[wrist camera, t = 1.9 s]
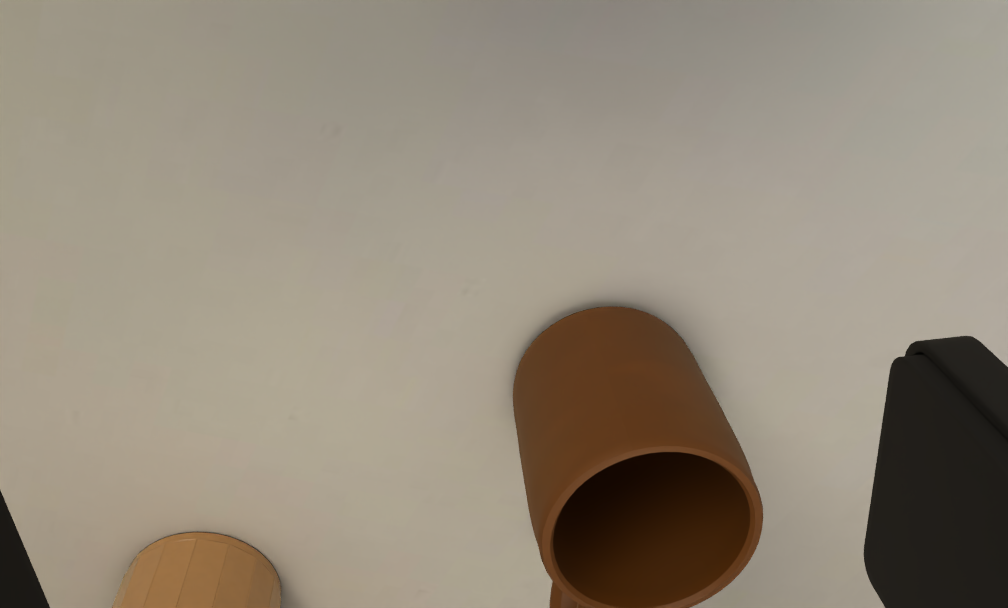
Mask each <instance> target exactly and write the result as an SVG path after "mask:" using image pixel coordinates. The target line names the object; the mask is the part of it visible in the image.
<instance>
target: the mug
mask: <svg viewBox="0 0 1008 608" xmlns="http://www.w3.org/2000/svg"><path fill="white" fill-rule="evenodd" d="M513 406H514V416H515V422H516V428H517V435H518V443H519V451H520V458H521V464H522V470H523V476H524V483H525V489H526V495H527V501H528V507H529V513H530V517H531V522H532V526H533V530H534V534H535V537H536V540H537V543H538V546H539V551H540V555H541V559H542V562H543V564H544V566H545V569H546V571H547V573H548V574H549V576H550V578H551V579H552V581H553V583H552V588H551V597H550V608H689V607H692V606H694V605H697V604H699V603H701V602H702V601H704V600H706V599H708V598H710V597H712V596H713V595H715V594H716V593H718V592H719V591H721V590H722V589H723V588H724V587H726V586H727V585H728V584H729V583H731V582H732V581H733V580H734V579H735V578H736V577H737V576H738V575H739V574H740V572H741V571H742V570H743V569H744V567H745V566H746V565H747V564H748V562H749V560H750V559H751V557H752V555H753V554H754V552H755V549H756V547H757V545H758V542H759V538H760V535H761V531H762V523H763V506H762V502H761V498H760V494H759V491H758V488H757V486H756V484H755V482H754V479H753V476H752V473H751V470H750V467H749V464H748V462H747V460H746V457H745V455H744V453H743V451H742V448H741V446H740V444H739V442H738V440H737V438H736V436H735V434H734V432H733V430H732V428H731V426H730V425H729V423H728V421H727V419H726V417H725V415H724V413H723V411H722V409H721V407H720V405H719V403H718V401H717V399H716V397H715V395H714V394H713V392H712V390H711V388H710V386H709V385H708V383H707V381H706V379H705V377H704V375H703V374H702V372H701V370H700V368H699V366H698V364H697V362H696V360H695V358H694V356H693V355H692V353H691V351H690V350H689V348H688V347H687V345H686V344H685V342H684V341H683V339H682V338H681V337H680V336H679V335H678V334H677V333H676V332H675V331H674V330H673V329H672V328H671V327H670V326H668V325H667V324H666V323H665V322H663V321H662V320H660V319H658V318H657V317H655V316H653V315H650V314H648V313H646V312H643V311H640V310H636V309H632V308H625V307H598V308H592V309H587V310H583V311H580V312H577V313H574V314H572V315H570V316H567V317H565V318H563V319H561V320H560V321H558V322H556V323H555V324H553V325H551V326H550V327H549V328H548V329H546V330H545V331H544V332H542V333H541V334H540V335H539V336H538V337H537V338H536V339H535V340H534V341H533V343H532V344H531V345H530V347H529V348H528V349H527V351H526V352H525V354H524V356H523V358H522V359H521V362H520V364H519V366H518V369H517V373H516V377H515V381H514V388H513Z"/></svg>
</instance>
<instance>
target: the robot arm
mask: <svg viewBox="0 0 1008 608" xmlns="http://www.w3.org/2000/svg"><path fill="white" fill-rule="evenodd" d="M864 562H865V567H866V571H867V574H868V577H869V580H870V582H871V584H872V586H873V588H874V589H875V591H876V593H877V594H878V596H879V598H880V599H881V601H882V603H883V604H884V606H885V608H1008V367H1007V366H1006V365H1005V364H1004V363H1002V362H1001V361H1000V360H999V359H998V358H997V357H996V356H995V355H994V354H993V353H992V352H991V351H989V350H988V349H987V348H986V347H985V346H984V345H983V344H982V343H981V342H980V341H978V340H977V339H975V338H974V337H971V336H960V337H951V338H942V339H933V340H924V341H916V342H914V343H912V344H911V345H910V346H909V348H908V349H907V351H906V354H905V356H904V357H898V358H896V359H895V360H894V361H893V363H892V365H891V369H890V374H889V381H888V388H887V395H886V402H885V408H884V415H883V422H882V429H881V436H880V442H879V449H878V456H877V463H876V470H875V477H874V483H873V490H872V497H871V504H870V511H869V517H868V524H867V531H866V538H865V545H864ZM0 608H50V607H49V604H48V602H47V600H46V597H45V595H44V592H43V590H42V588H41V585H40V583H39V581H38V578H37V576H36V574H35V571H34V569H33V566H32V564H31V562H30V559H29V557H28V555H27V552H26V550H25V548H24V545H23V543H22V540H21V538H20V536H19V533H18V531H17V529H16V526H15V524H14V522H13V519H12V517H11V514H10V512H9V510H8V507H7V505H6V503H5V500H4V498H3V496H2V493H1V491H0Z"/></svg>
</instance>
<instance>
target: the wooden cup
mask: <svg viewBox="0 0 1008 608" xmlns="http://www.w3.org/2000/svg"><path fill="white" fill-rule="evenodd" d="M280 604H281V586H280V581H279V578H278V575H277V573H276V571H275V569H274V568H273V566H272V565H271V564H270V562H269V561H268V560H267V559H266V558H265V557H264V556H263V555H262V554H261V553H260V552H258V551H257V550H256V549H254V548H253V547H251V546H249V545H248V544H246V543H244V542H242V541H239V540H237V539H234V538H231V537H228V536H225V535H220V534H215V533H206V532H191V533H182V534H177V535H172V536H169V537H166V538H163V539H161V540H159V541H156V542H154V543H153V544H151V545H149V546H148V547H146V548H145V549H144V550H143V551H141V552H140V553H139V554H138V555H137V556H136V557H135V559H134V560H133V562H132V563H131V565H130V567H129V569H128V571H127V573H126V574H125V575H124V577H123V580H122V583H121V585H120V588H119V590H118V593H117V595H116V598H115V601H114V603H113V606H112V608H280Z"/></svg>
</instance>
